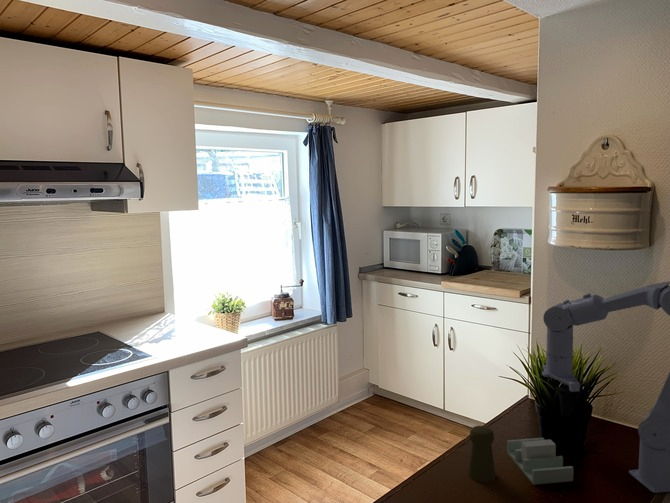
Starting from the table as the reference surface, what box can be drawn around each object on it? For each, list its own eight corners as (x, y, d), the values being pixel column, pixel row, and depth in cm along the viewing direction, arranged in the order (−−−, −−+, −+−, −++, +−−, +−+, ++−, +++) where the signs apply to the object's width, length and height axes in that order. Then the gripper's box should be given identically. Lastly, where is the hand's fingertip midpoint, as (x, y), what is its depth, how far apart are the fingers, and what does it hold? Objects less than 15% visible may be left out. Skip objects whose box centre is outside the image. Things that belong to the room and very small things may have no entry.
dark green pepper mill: (488, 485, 112) (488, 437, 111) (463, 476, 116) (462, 429, 115) (500, 473, 117) (500, 427, 116) (475, 464, 121) (475, 419, 119)
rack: (542, 449, 126) (543, 437, 126) (573, 481, 113) (573, 467, 113) (507, 452, 126) (507, 440, 125) (533, 484, 112) (533, 471, 112)
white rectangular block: (550, 459, 121) (550, 439, 120) (555, 465, 118) (555, 444, 118) (521, 462, 120) (521, 441, 119) (525, 467, 118) (526, 446, 117)
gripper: (529, 345, 130) (528, 397, 132) (559, 365, 116) (557, 423, 118) (556, 344, 131) (554, 395, 132) (589, 363, 116) (587, 421, 118)
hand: (558, 408), depth 125 cm, fingers open, 7 cm apart
